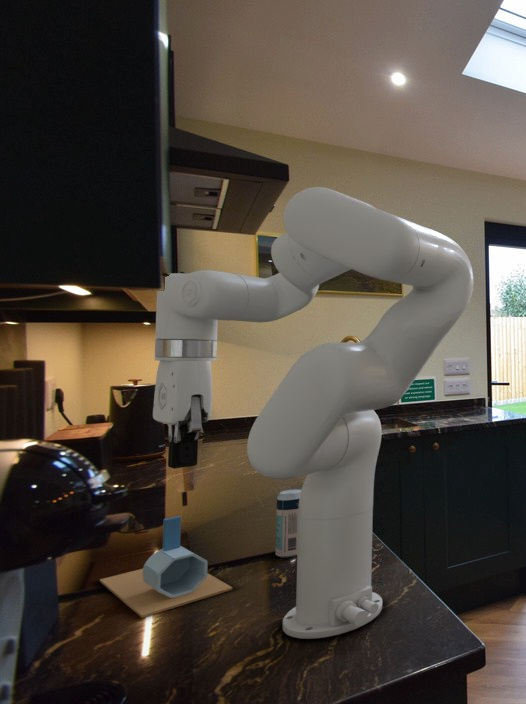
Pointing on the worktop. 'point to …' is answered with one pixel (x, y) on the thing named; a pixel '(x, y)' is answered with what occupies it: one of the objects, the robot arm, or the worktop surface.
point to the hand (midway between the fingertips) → (182, 466)
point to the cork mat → (157, 593)
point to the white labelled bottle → (287, 523)
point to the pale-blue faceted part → (174, 564)
